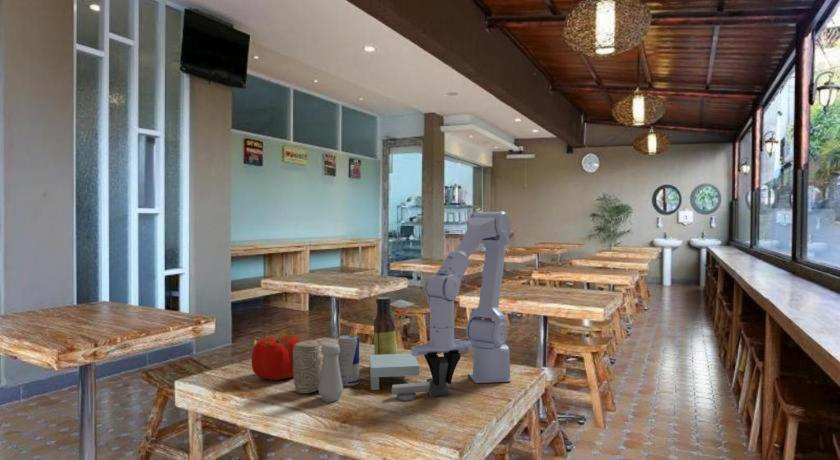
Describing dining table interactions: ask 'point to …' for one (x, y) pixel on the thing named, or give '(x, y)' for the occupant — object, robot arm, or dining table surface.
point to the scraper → (427, 383)
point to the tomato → (274, 357)
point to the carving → (306, 366)
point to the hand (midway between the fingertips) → (442, 383)
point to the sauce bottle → (384, 328)
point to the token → (406, 396)
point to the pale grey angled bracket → (391, 367)
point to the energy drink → (349, 359)
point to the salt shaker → (330, 374)
